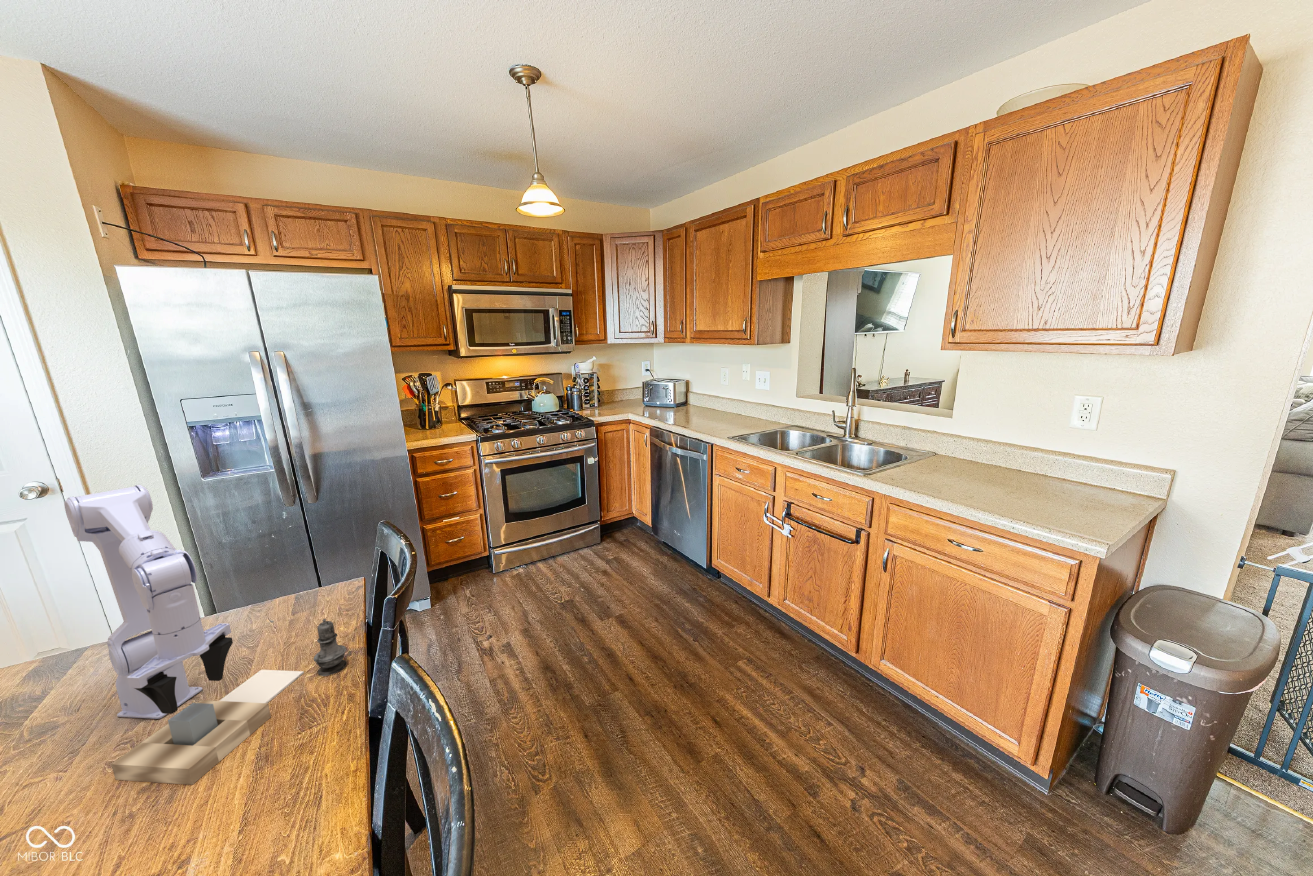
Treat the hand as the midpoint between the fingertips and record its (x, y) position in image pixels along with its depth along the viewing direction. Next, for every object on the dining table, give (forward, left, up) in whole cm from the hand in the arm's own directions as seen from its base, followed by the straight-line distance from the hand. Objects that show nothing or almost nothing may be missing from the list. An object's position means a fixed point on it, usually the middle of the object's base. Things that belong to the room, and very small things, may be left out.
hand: (193, 695), depth 80 cm
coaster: (-3, +13, -10) cm, 17 cm away
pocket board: (-1, -1, -10) cm, 10 cm away
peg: (-1, -1, -10) cm, 10 cm away
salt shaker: (+7, +20, -10) cm, 24 cm away
